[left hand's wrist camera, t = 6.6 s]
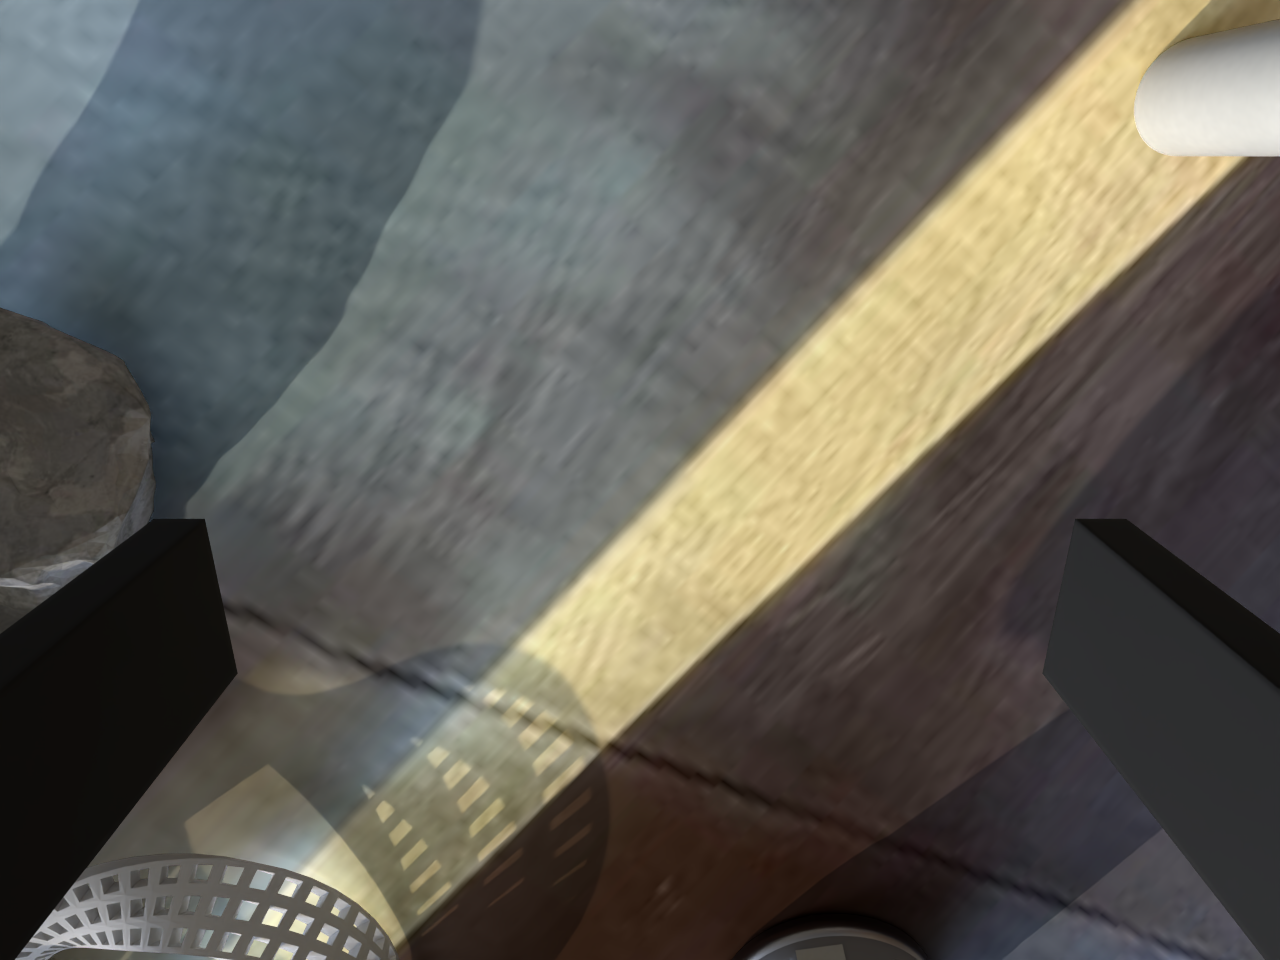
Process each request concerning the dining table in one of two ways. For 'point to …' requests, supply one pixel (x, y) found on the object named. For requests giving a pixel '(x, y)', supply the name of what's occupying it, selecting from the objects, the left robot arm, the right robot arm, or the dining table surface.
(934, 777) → the dining table surface
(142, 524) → the decorative stone
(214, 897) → the decorative object
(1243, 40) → the bottle
